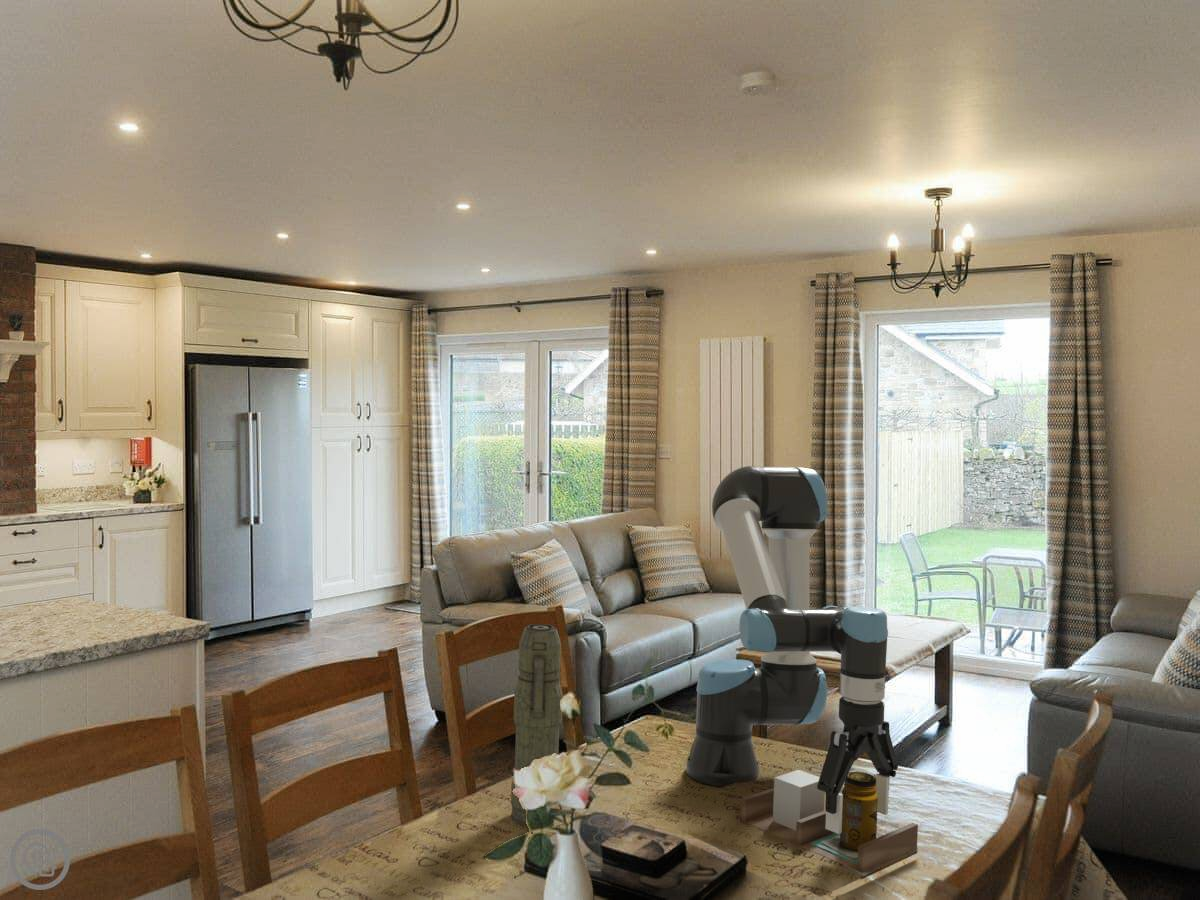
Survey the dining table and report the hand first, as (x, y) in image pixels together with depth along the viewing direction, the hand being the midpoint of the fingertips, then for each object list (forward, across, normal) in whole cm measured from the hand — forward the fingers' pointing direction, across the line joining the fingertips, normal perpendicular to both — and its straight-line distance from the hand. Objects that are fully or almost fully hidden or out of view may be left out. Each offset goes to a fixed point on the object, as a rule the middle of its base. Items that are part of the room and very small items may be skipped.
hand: (857, 821), depth 166 cm
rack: (+5, 0, +6) cm, 8 cm away
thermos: (+5, -36, +44) cm, 57 cm away
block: (+4, 0, +12) cm, 13 cm away
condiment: (+4, -1, 0) cm, 4 cm away
